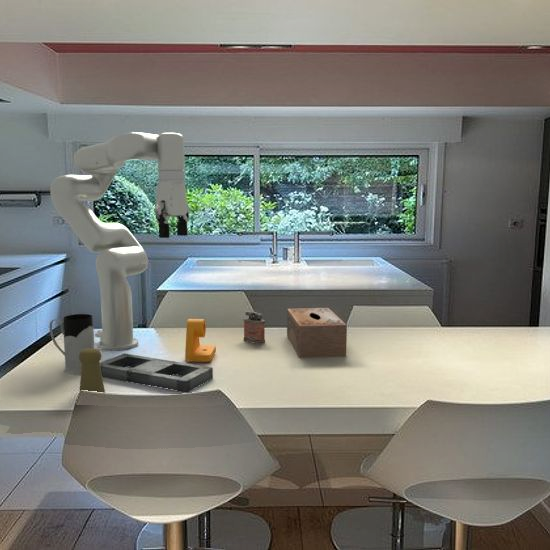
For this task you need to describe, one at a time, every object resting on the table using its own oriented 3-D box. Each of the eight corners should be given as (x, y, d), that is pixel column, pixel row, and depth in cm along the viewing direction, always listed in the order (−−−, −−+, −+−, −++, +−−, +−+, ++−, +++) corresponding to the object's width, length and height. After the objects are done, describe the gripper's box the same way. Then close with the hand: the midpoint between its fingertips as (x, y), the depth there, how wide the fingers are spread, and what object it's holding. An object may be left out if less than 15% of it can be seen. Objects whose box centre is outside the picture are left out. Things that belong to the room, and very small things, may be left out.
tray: (94, 375, 148) (93, 364, 147) (124, 363, 158) (124, 353, 158) (186, 392, 135) (186, 381, 134) (212, 378, 145) (212, 367, 145)
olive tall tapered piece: (90, 398, 131) (88, 354, 129) (73, 394, 134) (71, 350, 132) (110, 391, 136) (108, 348, 134) (93, 386, 139) (91, 344, 137)
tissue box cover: (346, 357, 166) (346, 324, 164) (299, 358, 164) (299, 326, 162) (327, 335, 191) (328, 307, 189) (286, 337, 189) (287, 308, 188)
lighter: (267, 342, 182) (267, 312, 180) (261, 344, 179) (261, 314, 178) (247, 338, 186) (247, 309, 185) (241, 340, 183) (241, 311, 182)
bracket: (210, 364, 158) (209, 323, 156) (185, 363, 158) (184, 323, 157) (216, 353, 168) (215, 315, 167) (192, 353, 169) (192, 315, 167)
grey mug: (82, 376, 147) (80, 321, 145) (41, 370, 152) (37, 317, 150) (103, 366, 155) (101, 314, 153) (63, 361, 160) (60, 311, 158)
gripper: (176, 178, 167) (178, 234, 170) (143, 176, 152) (145, 238, 154) (198, 178, 165) (199, 235, 167) (166, 175, 149) (168, 239, 151)
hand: (173, 236), depth 160 cm, fingers open, 9 cm apart
